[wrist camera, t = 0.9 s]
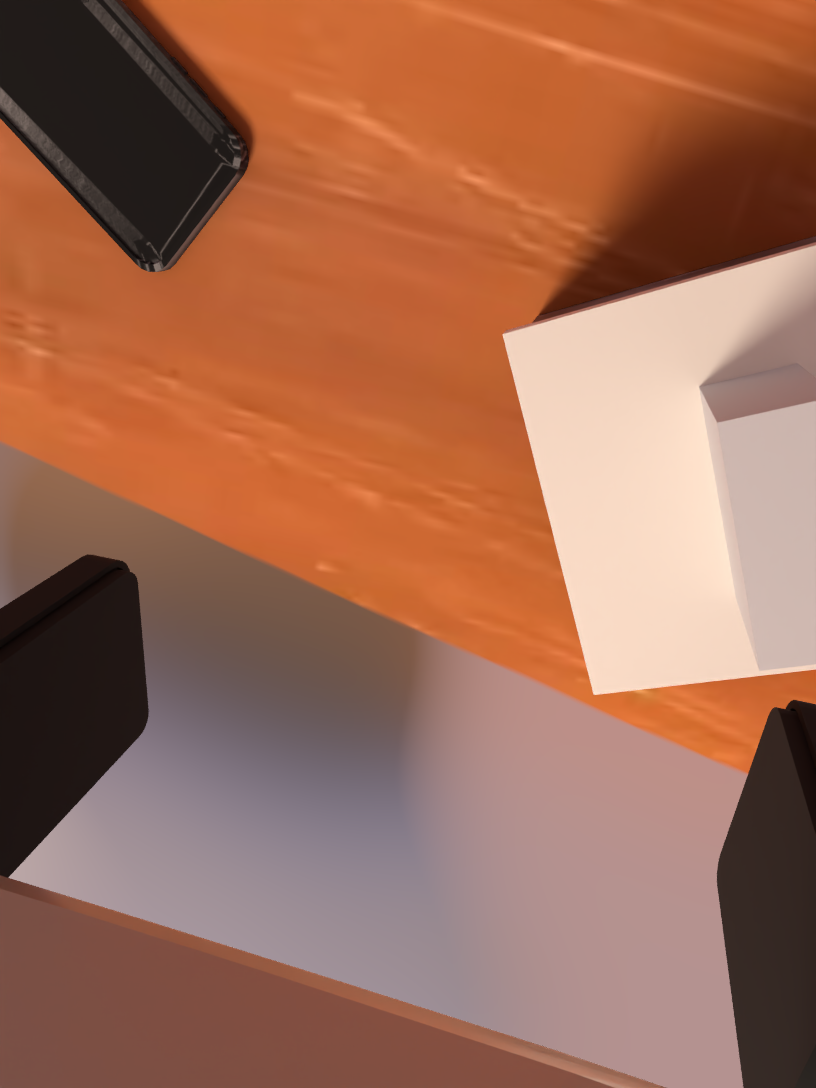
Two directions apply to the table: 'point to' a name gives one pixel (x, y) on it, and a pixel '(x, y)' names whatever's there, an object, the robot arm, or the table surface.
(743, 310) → the lid
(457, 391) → the table surface
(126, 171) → the phone
